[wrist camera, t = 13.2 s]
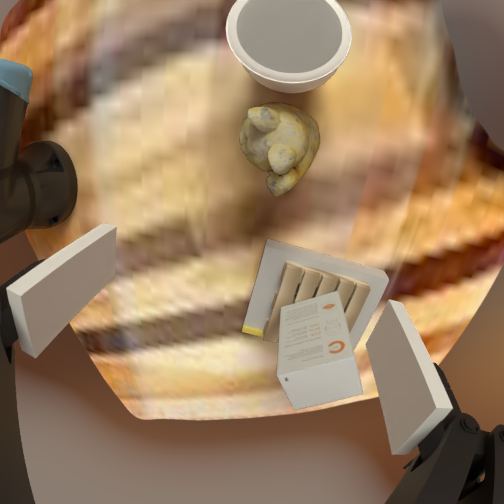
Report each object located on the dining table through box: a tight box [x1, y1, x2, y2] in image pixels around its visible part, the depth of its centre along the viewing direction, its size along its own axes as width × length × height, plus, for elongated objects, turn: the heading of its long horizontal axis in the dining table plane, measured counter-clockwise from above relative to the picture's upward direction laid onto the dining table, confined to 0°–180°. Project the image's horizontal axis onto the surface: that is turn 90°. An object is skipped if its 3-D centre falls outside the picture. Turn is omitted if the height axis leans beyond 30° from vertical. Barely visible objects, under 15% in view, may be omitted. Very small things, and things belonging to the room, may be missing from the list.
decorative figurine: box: [239, 102, 320, 197], centre depth 31 cm, size 10×8×15 cm
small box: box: [276, 291, 363, 410], centre depth 35 cm, size 8×6×13 cm
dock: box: [242, 239, 389, 350], centre depth 44 cm, size 18×14×4 cm
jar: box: [226, 0, 352, 93], centre depth 27 cm, size 11×10×15 cm
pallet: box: [263, 260, 371, 343], centre depth 42 cm, size 12×12×2 cm
